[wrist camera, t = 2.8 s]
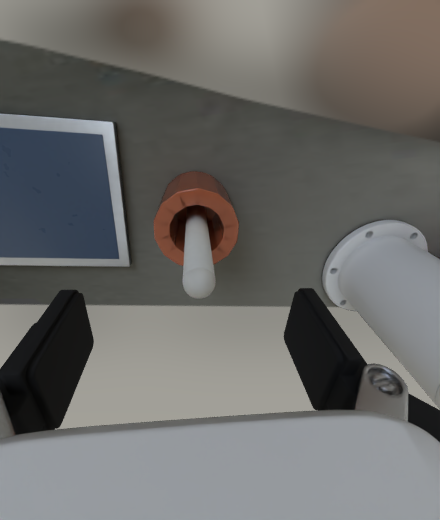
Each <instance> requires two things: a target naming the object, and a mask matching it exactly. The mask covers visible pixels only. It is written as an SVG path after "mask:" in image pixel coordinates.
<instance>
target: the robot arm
mask: <svg viewBox="0 0 440 520" xmlns="http://www.w3.org/2000/svg"><path fill="white" fill-rule="evenodd" d="M322 282H323V287H324V290H325V292H326V294H327V295H328V297H329V298H330V299H331V300H332V302H333V303H334V304H336V305H337V306H339V307H341V308H343V309H346V310H351V311H357V312H358V313H359V314H360V315H361V317H362V318H363V319H364V320H365V321H366V323H368V325H369V326H370V327H371V328H372V329H373V331H374V332H375V333H376V334H377V335H378V337H379V338H380V339H381V340H382V341H383V343H384V344H385V345H386V346H387V347H388V349H389V350H390V351H391V352H392V353H393V354H394V356H395V357H396V358H397V359H398V360H399V362H401V364H402V365H403V366H404V367H405V369H406V370H407V371H408V372H409V373H410V374H411V376H412V377H413V378H414V379H415V380H416V382H417V383H418V384H419V385H420V386H421V387H422V389H423V390H424V391H425V392H426V393H427V395H428V396H429V397H430V398H431V399H432V401H433V402H434V403H435V404H436V405H437V406H438V408H439V409H440V259H439V258H437V257H435V256H434V255H432V254H430V253H429V252H428V246H427V242H426V239H425V237H424V236H423V234H422V233H421V232H420V231H419V230H418V229H416V228H415V227H414V226H412V225H410V224H407V223H405V222H402V221H398V220H382V221H376V222H373V223H370V224H367V225H364V226H362V227H360V228H358V229H356V230H355V231H353V232H352V233H350V234H349V235H347V236H346V237H345V238H344V239H343V240H342V241H341V242H340V243H338V245H337V246H336V247H335V248H334V249H333V251H332V252H331V254H330V255H329V257H328V259H327V261H326V263H325V266H324V269H323V275H322ZM284 340H285V343H286V345H287V348H288V350H289V352H290V355H291V357H292V359H293V362H294V364H295V366H296V369H297V371H298V373H299V376H300V378H301V380H302V382H303V385H304V387H305V390H306V392H307V394H308V397H309V399H310V401H311V404H312V406H313V408H314V409H315V410H318V411H301V412H300V411H299V412H284V413H269V414H253V415H238V416H224V417H210V418H196V419H181V420H167V421H154V422H141V423H128V424H115V425H102V426H89V427H79V428H68V429H57V430H55V428H59V427H60V425H61V423H62V421H63V419H64V416H65V414H66V411H67V409H68V407H69V404H70V402H71V399H72V397H73V394H74V392H75V389H76V387H77V384H78V382H79V380H80V377H81V375H82V372H83V370H84V367H85V365H86V363H87V360H88V358H89V355H90V353H91V350H92V348H93V342H94V341H93V335H92V331H91V327H90V323H89V319H88V314H87V310H86V305H85V301H84V297H83V294H82V293H79V292H78V291H77V290H61V291H60V292H59V293H58V294H57V296H56V297H55V298H54V300H53V301H52V302H51V304H50V305H49V307H48V308H47V309H46V311H45V312H44V314H43V315H42V316H41V318H40V319H39V320H38V322H37V323H35V324H34V325H33V326H32V327H31V328H30V329H29V331H28V332H27V333H26V335H25V336H24V338H23V339H22V340H21V342H20V343H19V344H18V346H17V347H16V348H15V350H14V351H13V352H12V354H11V355H10V357H9V358H8V359H7V361H6V362H5V363H4V365H3V366H2V367H1V369H0V520H440V410H438V409H436V408H435V407H433V406H431V405H429V404H427V403H425V402H423V401H421V400H420V399H418V398H416V397H414V396H412V395H410V394H409V393H408V388H407V385H406V384H405V382H404V380H403V379H402V378H401V377H400V376H399V375H398V374H397V373H395V372H394V371H393V370H391V369H389V368H388V367H385V366H383V365H380V364H367V363H366V362H365V360H364V359H363V358H362V356H361V355H360V353H359V352H358V350H357V349H356V348H355V346H354V345H353V343H352V342H351V341H350V339H349V338H348V337H347V335H346V334H345V332H344V331H343V330H342V328H341V327H340V326H339V324H338V323H337V321H336V320H335V318H334V317H333V316H332V314H331V313H330V311H329V310H328V309H327V307H326V306H325V304H324V303H323V302H322V300H321V299H320V298H319V296H318V295H317V293H316V292H315V291H314V289H312V288H301V289H299V290H298V292H295V294H294V298H293V302H292V305H291V309H290V313H289V317H288V320H287V325H286V328H285V332H284Z"/></svg>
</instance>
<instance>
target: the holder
mask: <svg viewBox="0 0 440 520" xmlns="http://www.w3.org/2000/svg"><path fill="white" fill-rule="evenodd" d="M193 205H201V206H204V207H205V211H206V218H207V225H208V232H209V238H210V245H211V252H212V259H213V265H214V264H216V263H217V262H219V261H220V260H222V259H223V258H225V257H226V256H227V255H229V253H230V252H231V250H232V249H233V247H234V245H235V244H236V242H237V238H238V229H239V222H238V219H237V217H236V214H235V211H234V209H233V206H232V204H231V202H230V200H229V198H228V195H227V193H226V191H225V189H224V187H223V186H222V185H221V183H220V182H219V181H218V180H217V179H215V178H214V177H212V176H211V175H209V174H206V173H203V172H197V171H192V172H186V173H183V174H181V175H179V176H177V177H176V178H174V179H173V180H172V181H171V182H170V183H169V184H168V186H167V188H166V190H165V192H164V194H163V197H162V199H161V202H160V205H159V207H158V210H157V213H156V216H155V218H154V237H155V241H156V242H157V244H158V246H159V247H160V249H161V251H162V252H163V254H164V255H165V256H166V257H168V258H169V259H171V260H172V261H174V262H175V263H177V264H179V265H182V266H184V247H185V229H186V211H187V206H193Z"/></svg>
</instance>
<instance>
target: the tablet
mask: <svg viewBox="0 0 440 520" xmlns="http://www.w3.org/2000/svg"><path fill="white" fill-rule="evenodd" d="M0 265H28V266H114V267H130V265H131V255H130V246H129V237H128V228H127V219H126V210H125V201H124V192H123V184H122V175H121V166H120V157H119V148H118V139H117V130H116V122H110V121H97V120H84V119H71V118H58V117H44V116H31V115H18V114H5V113H0Z"/></svg>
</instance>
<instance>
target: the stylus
mask: <svg viewBox="0 0 440 520" xmlns="http://www.w3.org/2000/svg"><path fill="white" fill-rule="evenodd" d="M215 284H216V280H215V273H214V266H213V259H212V252H211V245H210V238H209V232H208V225H207V218H206V211H205V207H204V206H201V205H193V206H187V211H186V229H185V247H184V266H183V287H184V290H185V291H186V293H187V294H188V295H190V296H191V297H193V298H205V297H207V296H208V295H210V294H211V293H212V291H213V290H214V288H215Z"/></svg>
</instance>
